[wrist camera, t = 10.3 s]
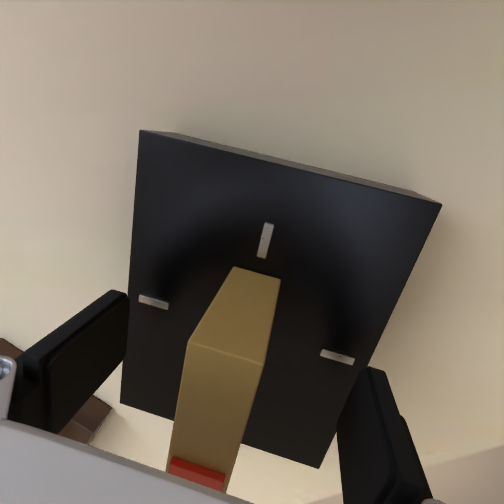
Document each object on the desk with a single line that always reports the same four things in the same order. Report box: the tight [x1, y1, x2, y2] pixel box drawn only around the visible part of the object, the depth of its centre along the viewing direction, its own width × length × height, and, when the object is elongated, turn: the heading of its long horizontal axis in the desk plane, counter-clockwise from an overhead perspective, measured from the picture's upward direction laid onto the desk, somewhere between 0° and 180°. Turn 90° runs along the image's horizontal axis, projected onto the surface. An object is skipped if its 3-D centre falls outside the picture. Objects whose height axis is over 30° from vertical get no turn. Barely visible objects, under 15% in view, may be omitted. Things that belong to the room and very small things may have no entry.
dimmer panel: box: [120, 130, 442, 469], centre depth 14 cm, size 14×11×3 cm
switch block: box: [0, 338, 112, 445], centre depth 21 cm, size 12×9×4 cm
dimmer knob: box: [165, 267, 281, 493], centre depth 11 cm, size 6×2×5 cm, turn 167°
